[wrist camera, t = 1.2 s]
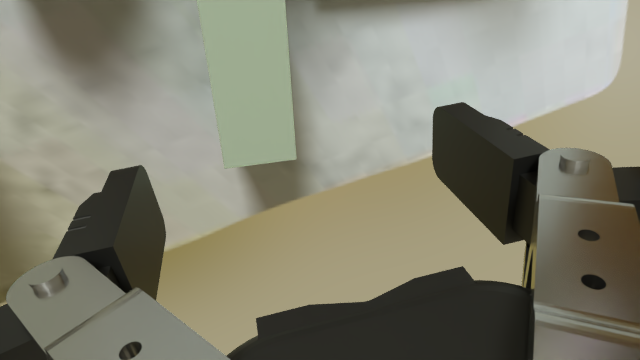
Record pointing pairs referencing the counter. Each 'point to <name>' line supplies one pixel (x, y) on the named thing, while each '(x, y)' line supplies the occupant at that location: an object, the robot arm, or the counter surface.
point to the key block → (249, 79)
